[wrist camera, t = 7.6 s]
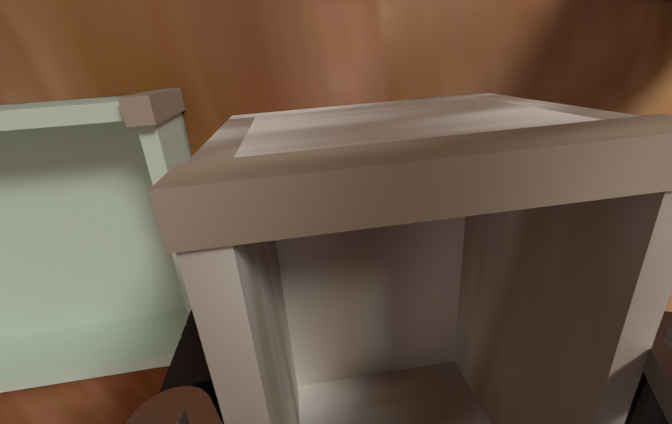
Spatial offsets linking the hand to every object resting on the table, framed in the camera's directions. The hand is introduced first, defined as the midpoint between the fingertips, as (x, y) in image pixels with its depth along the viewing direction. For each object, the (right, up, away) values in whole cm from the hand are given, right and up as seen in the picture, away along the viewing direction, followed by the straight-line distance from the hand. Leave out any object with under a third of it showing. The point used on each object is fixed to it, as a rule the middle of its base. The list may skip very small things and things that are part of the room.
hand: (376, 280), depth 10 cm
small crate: (0, 0, +1) cm, 1 cm away
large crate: (-17, +1, +12) cm, 21 cm away
